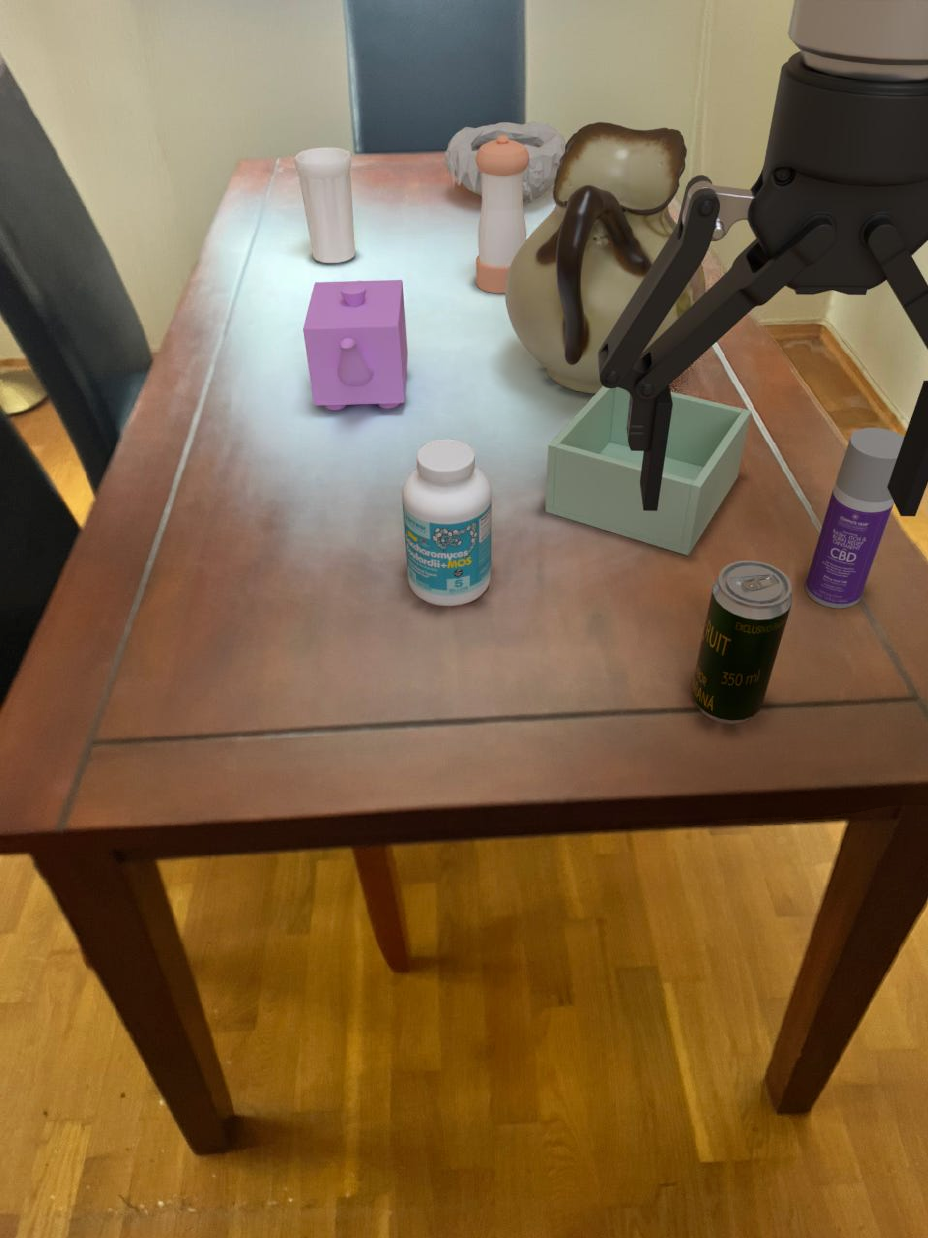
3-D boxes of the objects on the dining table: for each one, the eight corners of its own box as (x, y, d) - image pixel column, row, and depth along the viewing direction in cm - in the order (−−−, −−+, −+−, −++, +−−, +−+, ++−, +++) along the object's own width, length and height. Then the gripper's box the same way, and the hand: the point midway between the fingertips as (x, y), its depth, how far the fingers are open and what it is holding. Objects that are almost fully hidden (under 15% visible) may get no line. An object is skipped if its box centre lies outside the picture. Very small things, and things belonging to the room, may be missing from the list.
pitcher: (639, 318, 122) (662, 106, 105) (733, 402, 105) (779, 168, 88) (479, 346, 117) (476, 129, 100) (551, 440, 100) (562, 199, 83)
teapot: (328, 358, 115) (314, 257, 107) (409, 355, 115) (402, 255, 107) (310, 444, 101) (293, 335, 92) (403, 441, 101) (395, 332, 92)
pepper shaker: (524, 295, 128) (527, 144, 115) (472, 292, 129) (469, 143, 116) (530, 274, 133) (534, 128, 120) (480, 271, 134) (479, 126, 121)
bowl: (593, 201, 155) (598, 136, 148) (491, 227, 147) (490, 160, 140) (522, 170, 168) (523, 108, 161) (425, 192, 160) (422, 129, 153)
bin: (737, 476, 94) (751, 410, 89) (688, 556, 85) (700, 487, 80) (605, 441, 100) (611, 376, 95) (545, 511, 91) (548, 444, 85)
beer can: (741, 670, 74) (771, 552, 66) (774, 719, 70) (810, 600, 62) (678, 683, 73) (701, 565, 65) (708, 733, 69) (736, 614, 61)
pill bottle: (396, 600, 81) (383, 470, 72) (425, 550, 86) (417, 423, 77) (476, 618, 79) (474, 486, 70) (502, 565, 85) (503, 437, 75)
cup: (340, 271, 135) (328, 167, 126) (296, 262, 139) (281, 159, 129) (371, 252, 141) (362, 151, 131) (328, 243, 144) (316, 143, 134)
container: (811, 608, 79) (857, 459, 69) (799, 573, 83) (841, 426, 73) (867, 609, 79) (921, 459, 69) (852, 573, 83) (902, 426, 72)
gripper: (1167, 30, 38) (984, 465, 53) (564, 37, 40) (545, 457, 54) (1271, 75, 33) (1035, 546, 47) (566, 81, 35) (545, 535, 49)
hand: (773, 499), depth 51 cm, fingers open, 13 cm apart
